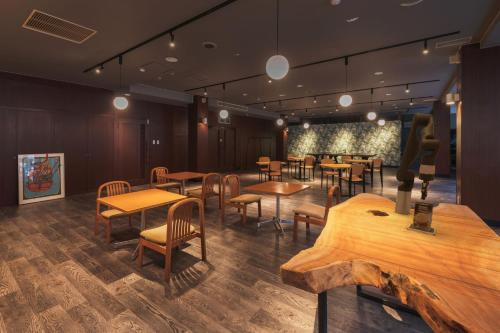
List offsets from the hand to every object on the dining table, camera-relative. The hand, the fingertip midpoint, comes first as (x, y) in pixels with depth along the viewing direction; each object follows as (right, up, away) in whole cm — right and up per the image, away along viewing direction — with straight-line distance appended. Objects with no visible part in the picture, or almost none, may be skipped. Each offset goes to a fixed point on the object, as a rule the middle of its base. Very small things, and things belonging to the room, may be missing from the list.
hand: (423, 198), depth 151 cm
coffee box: (0, -20, +3) cm, 20 cm away
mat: (0, -20, +2) cm, 20 cm away
